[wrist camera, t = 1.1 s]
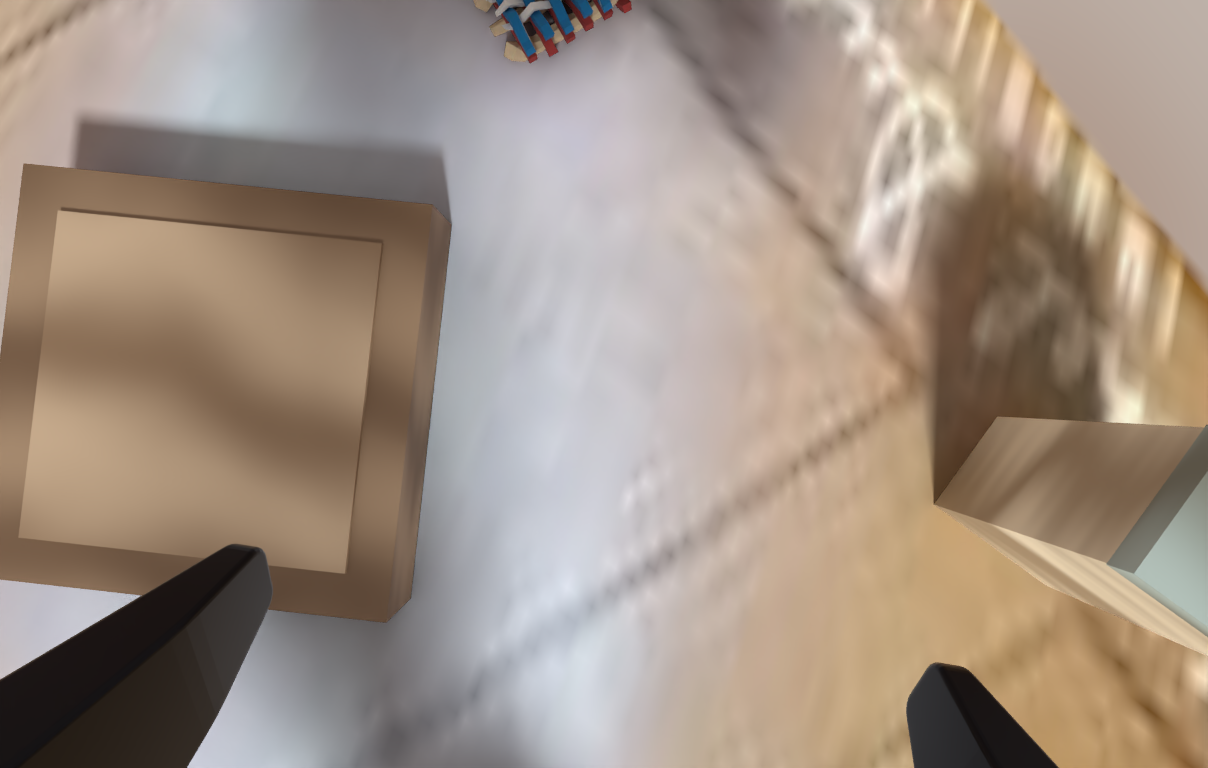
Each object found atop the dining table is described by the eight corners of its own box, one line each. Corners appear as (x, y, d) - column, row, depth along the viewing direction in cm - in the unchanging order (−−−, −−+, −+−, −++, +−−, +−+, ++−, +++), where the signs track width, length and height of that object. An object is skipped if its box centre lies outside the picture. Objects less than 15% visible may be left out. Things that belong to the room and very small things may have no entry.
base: (410, 598, 23) (384, 624, 21) (41, 557, 24) (-32, 577, 21) (451, 224, 24) (431, 203, 21) (85, 188, 24) (19, 162, 21)
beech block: (1046, 587, 23) (1322, 709, 14) (931, 504, 23) (1133, 573, 14) (1111, 496, 23) (1429, 561, 14) (996, 414, 23) (1239, 426, 14)
